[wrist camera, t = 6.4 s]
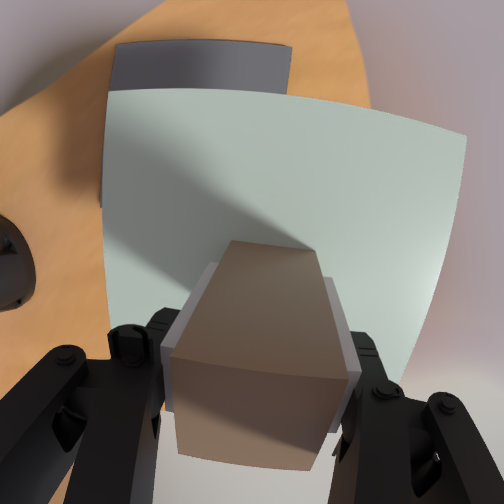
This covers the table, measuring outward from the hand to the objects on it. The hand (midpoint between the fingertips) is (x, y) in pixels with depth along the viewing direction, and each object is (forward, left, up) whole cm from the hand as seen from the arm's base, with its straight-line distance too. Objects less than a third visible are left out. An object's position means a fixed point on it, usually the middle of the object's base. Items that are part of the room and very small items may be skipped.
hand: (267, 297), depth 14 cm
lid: (0, 0, -2) cm, 2 cm away
